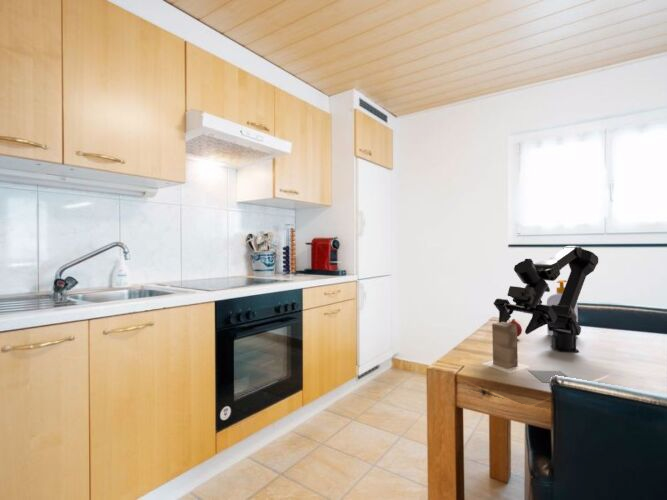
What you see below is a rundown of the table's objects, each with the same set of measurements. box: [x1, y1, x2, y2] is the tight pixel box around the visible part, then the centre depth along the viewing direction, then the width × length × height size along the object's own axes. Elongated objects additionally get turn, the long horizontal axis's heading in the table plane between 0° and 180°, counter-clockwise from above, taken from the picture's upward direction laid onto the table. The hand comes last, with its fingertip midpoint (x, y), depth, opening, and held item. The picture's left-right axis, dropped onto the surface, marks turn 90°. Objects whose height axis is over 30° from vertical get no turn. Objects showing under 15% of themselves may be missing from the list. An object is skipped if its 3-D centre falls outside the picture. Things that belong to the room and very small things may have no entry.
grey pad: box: [528, 369, 569, 384], centre depth 98 cm, size 9×9×1 cm
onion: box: [508, 318, 523, 338], centre depth 139 cm, size 6×6×8 cm
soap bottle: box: [546, 279, 579, 338], centre depth 141 cm, size 9×7×23 cm
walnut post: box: [491, 321, 519, 369], centre depth 108 cm, size 5×5×13 cm
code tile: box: [480, 359, 530, 374], centre depth 108 cm, size 10×10×1 cm
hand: (512, 330), depth 110 cm, fingers open, 9 cm apart
